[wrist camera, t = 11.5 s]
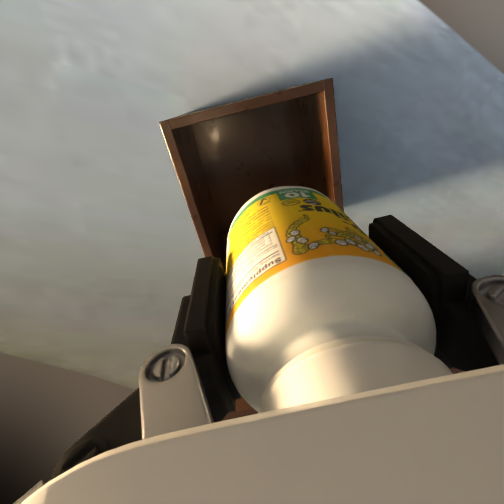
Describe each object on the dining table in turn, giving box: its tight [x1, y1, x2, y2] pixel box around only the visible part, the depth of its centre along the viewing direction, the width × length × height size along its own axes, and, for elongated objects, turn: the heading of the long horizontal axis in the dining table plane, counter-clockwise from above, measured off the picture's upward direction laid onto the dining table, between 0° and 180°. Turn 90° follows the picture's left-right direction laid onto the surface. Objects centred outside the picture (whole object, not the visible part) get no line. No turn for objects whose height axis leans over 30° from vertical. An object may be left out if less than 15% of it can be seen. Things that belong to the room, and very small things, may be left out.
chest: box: [159, 78, 344, 276], centre depth 33 cm, size 17×15×12 cm
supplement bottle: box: [225, 186, 452, 413], centre depth 9 cm, size 5×5×10 cm
